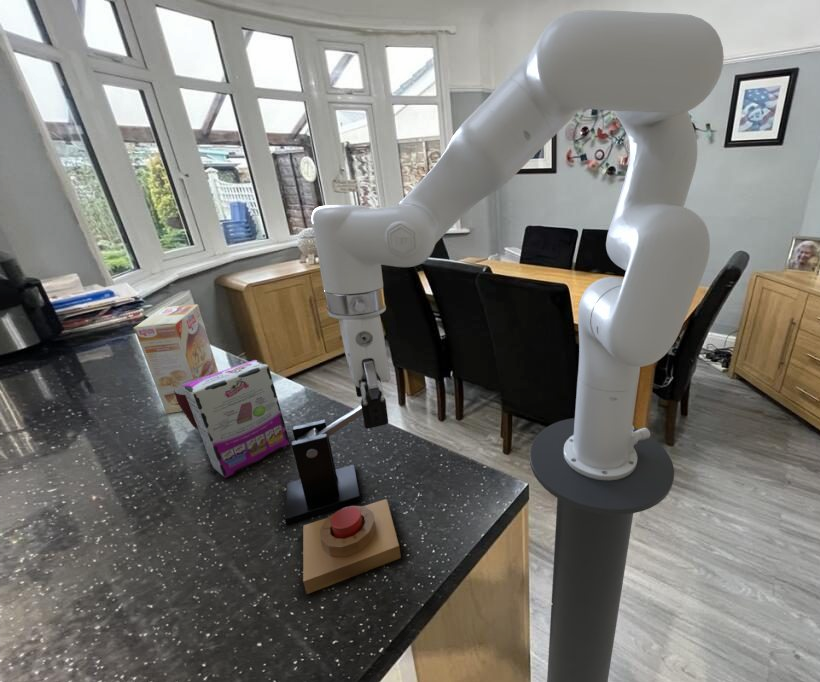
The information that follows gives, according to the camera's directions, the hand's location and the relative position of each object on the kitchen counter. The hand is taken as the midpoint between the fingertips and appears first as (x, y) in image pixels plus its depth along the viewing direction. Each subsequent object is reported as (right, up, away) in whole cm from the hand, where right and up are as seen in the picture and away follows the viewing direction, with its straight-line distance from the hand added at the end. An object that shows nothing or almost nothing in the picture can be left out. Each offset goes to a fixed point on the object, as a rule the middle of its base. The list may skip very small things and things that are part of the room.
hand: (371, 409), depth 60 cm
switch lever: (-3, -3, -1) cm, 4 cm away
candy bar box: (-25, -10, +10) cm, 29 cm away
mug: (-37, -7, +19) cm, 42 cm away
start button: (0, -14, -9) cm, 16 cm away
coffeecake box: (-51, -2, +30) cm, 59 cm away
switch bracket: (-8, -14, +1) cm, 16 cm away
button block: (0, -17, -8) cm, 19 cm away
